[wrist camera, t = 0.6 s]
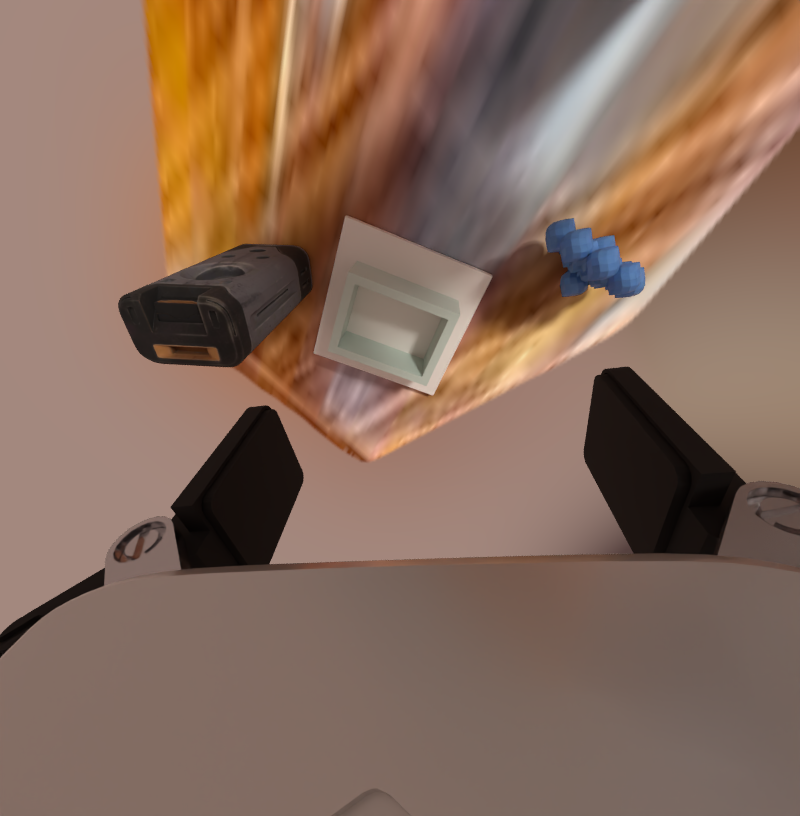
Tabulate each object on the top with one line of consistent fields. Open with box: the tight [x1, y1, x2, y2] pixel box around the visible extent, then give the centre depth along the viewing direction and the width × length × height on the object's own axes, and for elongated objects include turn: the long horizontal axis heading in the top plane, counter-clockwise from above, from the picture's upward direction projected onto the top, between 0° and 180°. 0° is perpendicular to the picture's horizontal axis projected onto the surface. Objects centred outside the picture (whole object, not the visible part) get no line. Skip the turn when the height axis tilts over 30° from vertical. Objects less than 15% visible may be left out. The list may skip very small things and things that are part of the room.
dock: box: [314, 215, 493, 395], centre depth 44 cm, size 18×18×6 cm
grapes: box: [545, 218, 645, 298], centre depth 35 cm, size 12×7×12 cm, turn 61°
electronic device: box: [118, 244, 312, 367], centre depth 36 cm, size 9×6×20 cm, turn 89°
